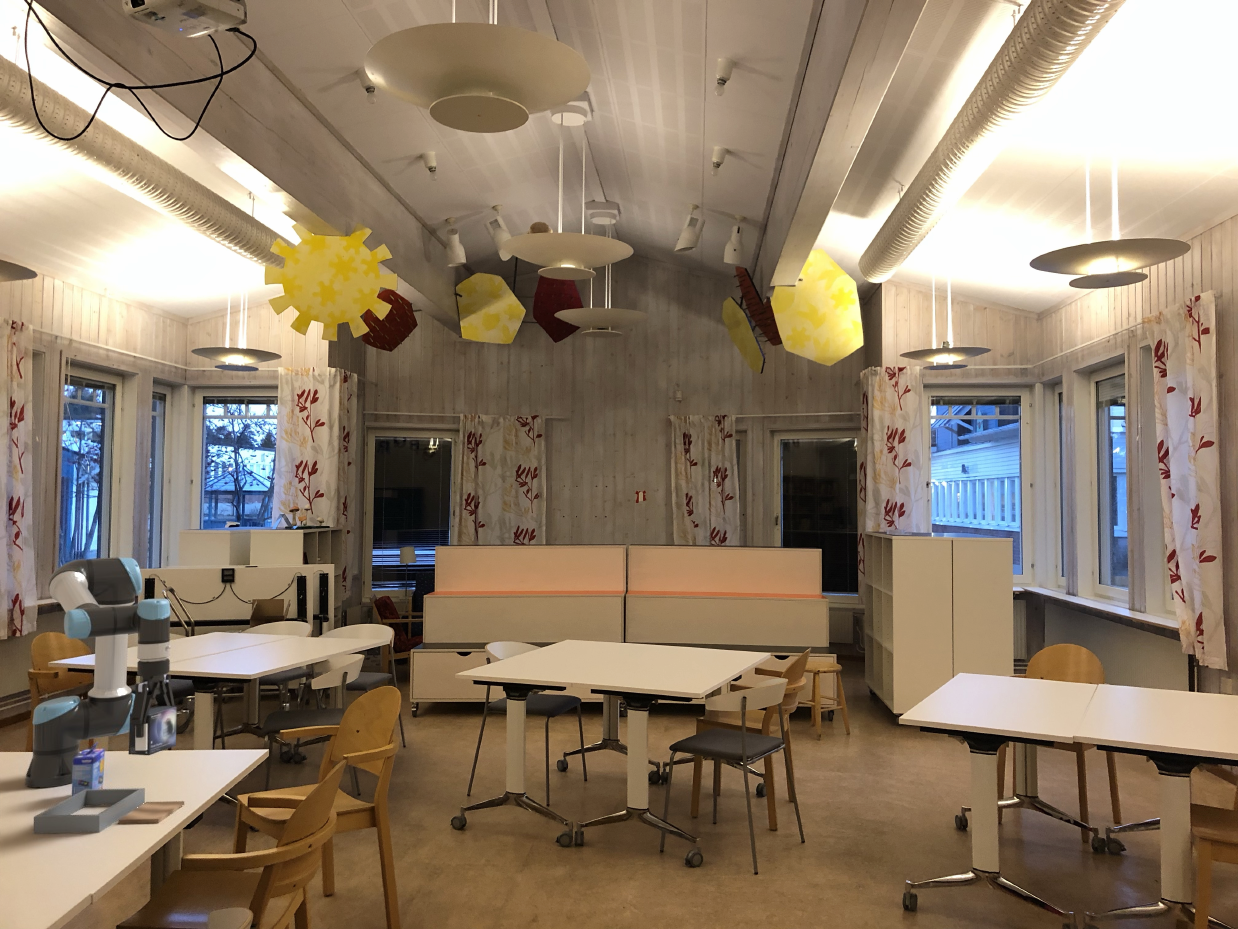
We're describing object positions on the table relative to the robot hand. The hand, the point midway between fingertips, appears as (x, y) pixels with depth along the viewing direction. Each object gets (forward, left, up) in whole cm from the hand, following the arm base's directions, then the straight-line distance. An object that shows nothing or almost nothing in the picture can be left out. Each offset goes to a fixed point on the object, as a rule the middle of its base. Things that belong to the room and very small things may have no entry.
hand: (153, 744), depth 239 cm
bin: (+2, -15, -18) cm, 23 cm away
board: (0, 0, -18) cm, 18 cm away
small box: (0, 0, -2) cm, 2 cm away
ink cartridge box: (-15, -25, -18) cm, 34 cm away
